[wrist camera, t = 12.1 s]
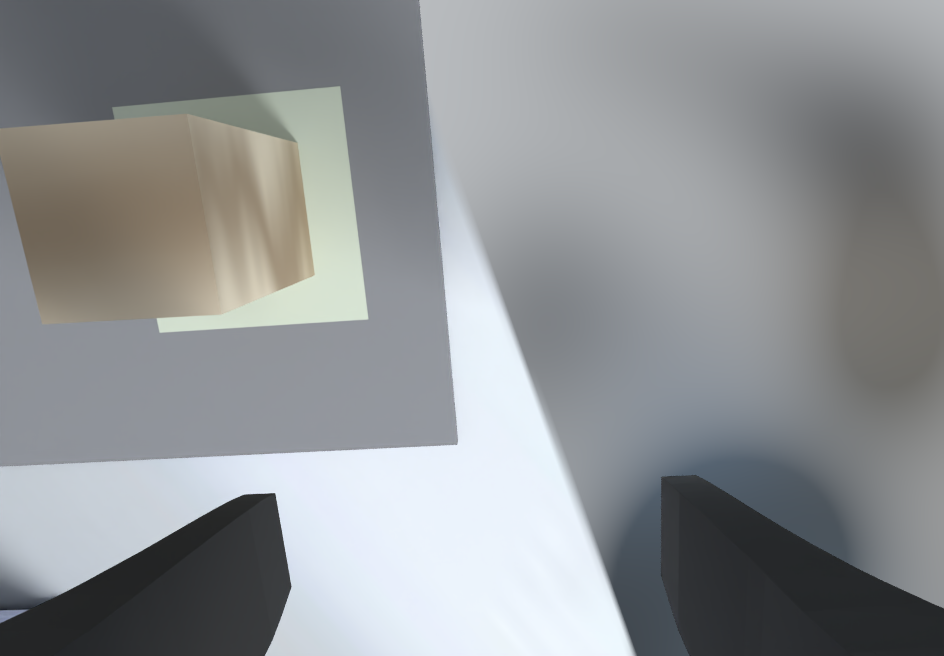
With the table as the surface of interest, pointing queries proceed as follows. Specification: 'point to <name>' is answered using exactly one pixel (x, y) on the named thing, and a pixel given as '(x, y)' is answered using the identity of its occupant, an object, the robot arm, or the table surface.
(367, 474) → the table surface
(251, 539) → the robot arm
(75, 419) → the mat
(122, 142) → the birch block
